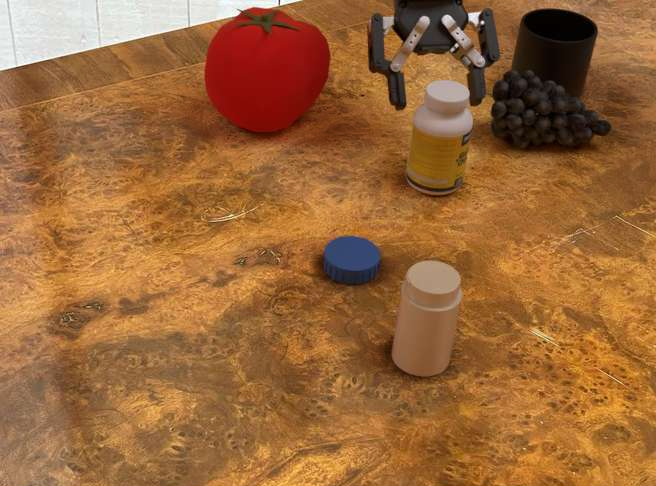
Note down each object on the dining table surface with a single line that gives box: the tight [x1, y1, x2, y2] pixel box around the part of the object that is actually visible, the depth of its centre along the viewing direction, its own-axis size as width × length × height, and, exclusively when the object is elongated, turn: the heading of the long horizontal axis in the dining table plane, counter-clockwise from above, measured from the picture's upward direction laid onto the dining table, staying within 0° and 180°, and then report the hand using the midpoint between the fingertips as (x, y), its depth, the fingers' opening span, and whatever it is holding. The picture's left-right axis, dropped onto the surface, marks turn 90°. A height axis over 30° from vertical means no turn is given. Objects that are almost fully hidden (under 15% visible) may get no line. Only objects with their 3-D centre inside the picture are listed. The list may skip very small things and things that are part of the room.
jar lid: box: [322, 235, 382, 285], centre depth 108 cm, size 6×6×2 cm
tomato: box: [204, 6, 331, 133], centre depth 126 cm, size 16×14×14 cm
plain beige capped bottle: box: [391, 260, 464, 378], centre depth 96 cm, size 5×5×10 cm
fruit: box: [486, 69, 612, 150], centre depth 125 cm, size 9×8×15 cm
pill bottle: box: [405, 79, 474, 196], centre depth 117 cm, size 6×6×12 cm
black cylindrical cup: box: [510, 7, 599, 100], centre depth 136 cm, size 9×12×9 cm
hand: (439, 106), depth 117 cm, fingers open, 8 cm apart
